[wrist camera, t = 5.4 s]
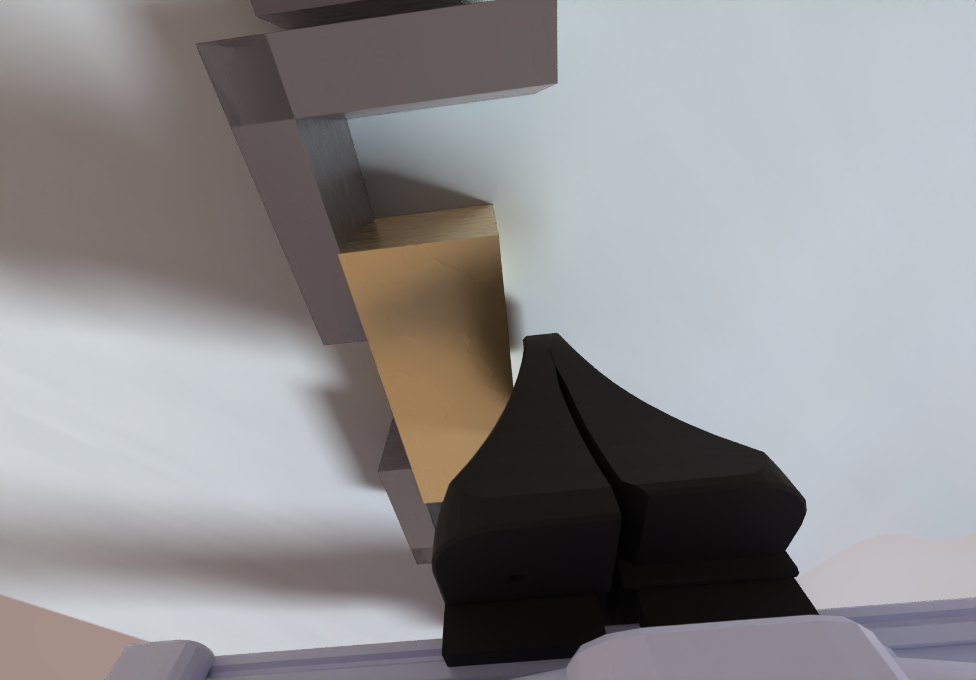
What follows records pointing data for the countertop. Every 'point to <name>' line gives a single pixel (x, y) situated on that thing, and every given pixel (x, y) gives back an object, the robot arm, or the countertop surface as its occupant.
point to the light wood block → (435, 332)
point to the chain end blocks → (328, 144)
